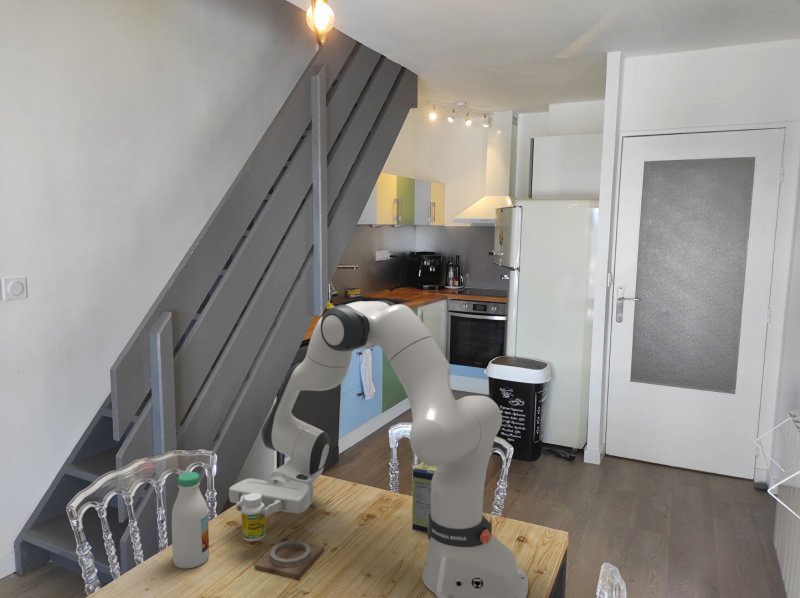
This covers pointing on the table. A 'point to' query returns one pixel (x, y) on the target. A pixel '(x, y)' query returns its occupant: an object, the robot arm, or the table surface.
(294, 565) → the collar board
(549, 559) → the table surface
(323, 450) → the robot arm
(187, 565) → the milk bottle
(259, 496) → the supplement bottle
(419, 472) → the protein box
